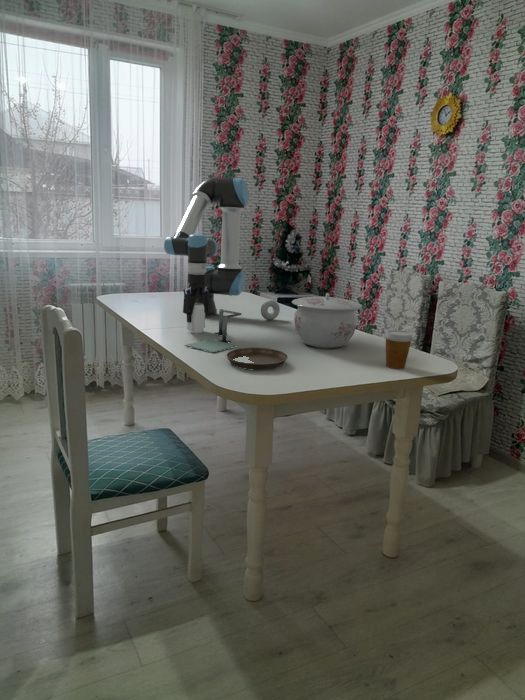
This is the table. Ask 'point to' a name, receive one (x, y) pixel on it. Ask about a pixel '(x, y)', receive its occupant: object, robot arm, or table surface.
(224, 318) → the dark grey angled piece
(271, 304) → the donut
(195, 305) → the can
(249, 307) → the table surface
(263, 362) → the plant saucer
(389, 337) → the disposable coffee cup
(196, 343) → the mat
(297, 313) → the chamber pot
